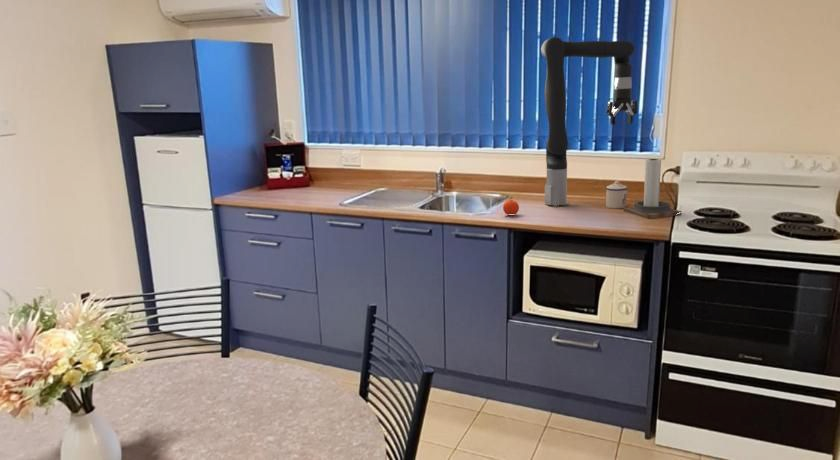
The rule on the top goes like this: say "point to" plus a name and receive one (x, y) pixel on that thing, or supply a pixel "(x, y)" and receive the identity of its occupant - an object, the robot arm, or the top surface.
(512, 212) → the tomato
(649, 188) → the tall grey block
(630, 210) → the holder base
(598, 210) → the top surface
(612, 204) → the teacup with lid
